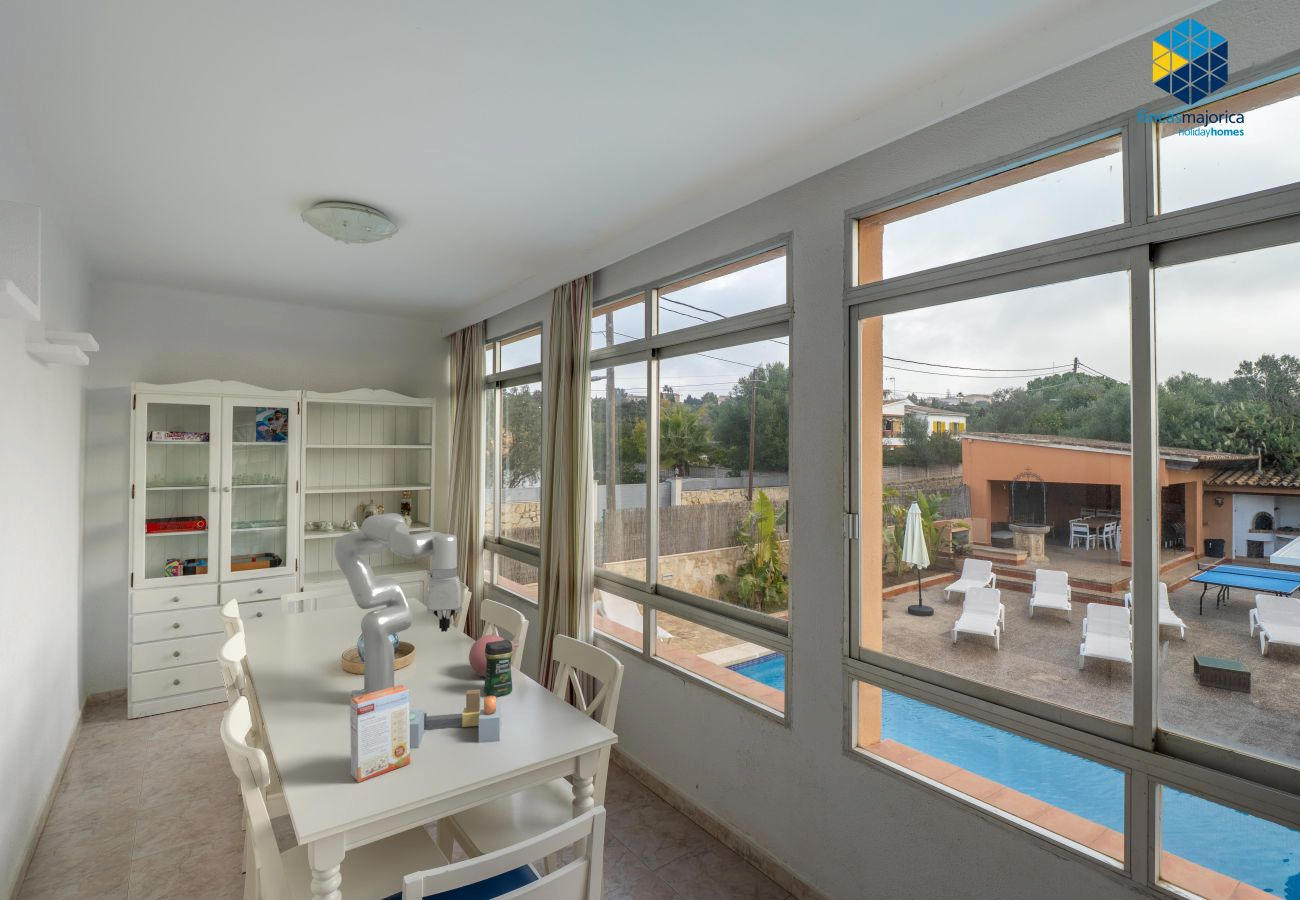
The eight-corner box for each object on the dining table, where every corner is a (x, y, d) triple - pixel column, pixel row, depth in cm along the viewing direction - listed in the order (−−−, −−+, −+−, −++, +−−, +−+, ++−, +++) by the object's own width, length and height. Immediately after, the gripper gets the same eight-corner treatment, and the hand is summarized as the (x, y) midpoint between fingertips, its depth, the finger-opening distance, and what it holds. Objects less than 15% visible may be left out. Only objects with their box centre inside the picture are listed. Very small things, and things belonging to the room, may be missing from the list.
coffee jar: (488, 699, 215) (489, 646, 215) (481, 692, 222) (481, 640, 222) (515, 693, 220) (515, 641, 220) (507, 686, 227) (507, 636, 227)
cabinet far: (478, 742, 184) (478, 719, 184) (481, 727, 194) (481, 705, 194) (499, 740, 185) (499, 717, 185) (500, 726, 195) (500, 703, 195)
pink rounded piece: (528, 674, 239) (528, 635, 239) (477, 686, 227) (477, 644, 227) (511, 663, 252) (511, 625, 251) (463, 673, 240) (463, 634, 240)
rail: (420, 730, 192) (420, 717, 192) (422, 726, 195) (422, 713, 195) (488, 724, 196) (488, 712, 196) (489, 720, 199) (489, 708, 199)
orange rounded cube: (483, 714, 186) (483, 700, 186) (484, 709, 190) (484, 696, 190) (495, 713, 187) (495, 700, 187) (496, 708, 191) (496, 695, 191)
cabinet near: (393, 749, 179) (393, 722, 179) (400, 734, 189) (400, 707, 189) (418, 747, 181) (418, 720, 181) (424, 732, 191) (424, 706, 191)
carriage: (462, 726, 193) (462, 695, 193) (464, 719, 198) (464, 689, 198) (482, 725, 194) (482, 694, 194) (483, 718, 199) (483, 687, 199)
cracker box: (401, 756, 176) (401, 683, 175) (410, 764, 171) (410, 689, 171) (349, 774, 166) (349, 696, 166) (357, 783, 161) (357, 703, 161)
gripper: (418, 576, 193) (417, 635, 193) (467, 574, 196) (467, 632, 196) (422, 571, 200) (421, 628, 201) (469, 570, 203) (469, 626, 203)
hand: (444, 630), depth 198 cm, fingers closed
